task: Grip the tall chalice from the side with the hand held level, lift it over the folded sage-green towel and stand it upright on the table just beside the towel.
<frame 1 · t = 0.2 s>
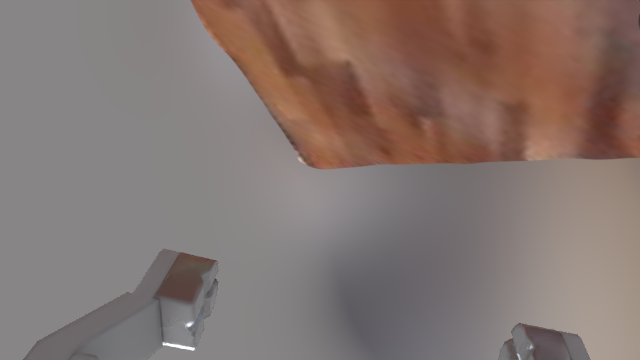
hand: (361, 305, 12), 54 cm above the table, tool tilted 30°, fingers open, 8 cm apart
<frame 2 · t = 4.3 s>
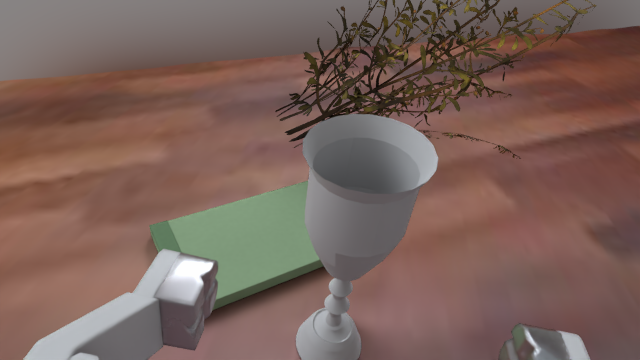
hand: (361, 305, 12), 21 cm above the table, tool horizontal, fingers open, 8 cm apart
chalice: (328, 343, 34), on the table
dried plant: (419, 131, 60), on the table
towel: (264, 241, 41), on the table
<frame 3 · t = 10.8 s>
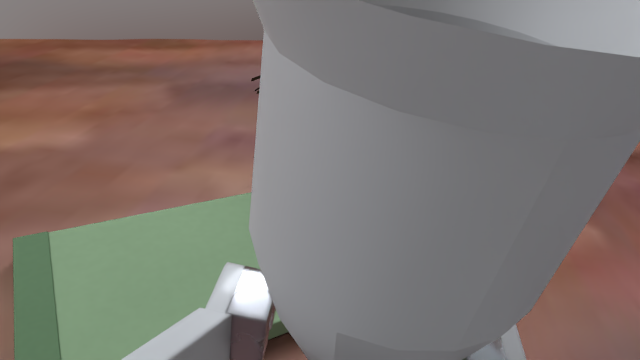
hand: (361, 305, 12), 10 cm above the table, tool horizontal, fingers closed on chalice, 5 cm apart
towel: (213, 274, 24), on the table
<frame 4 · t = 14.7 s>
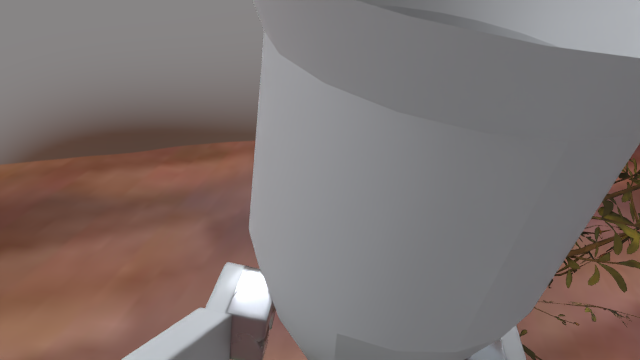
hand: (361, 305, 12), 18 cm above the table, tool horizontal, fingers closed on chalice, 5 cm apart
dried plant: (512, 271, 41), on the table
when the fingers open (10 cm above the table, at t = 19.2 s): chalice stays where it is, on the table.
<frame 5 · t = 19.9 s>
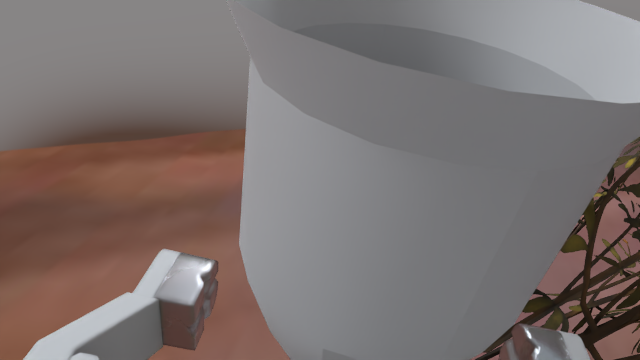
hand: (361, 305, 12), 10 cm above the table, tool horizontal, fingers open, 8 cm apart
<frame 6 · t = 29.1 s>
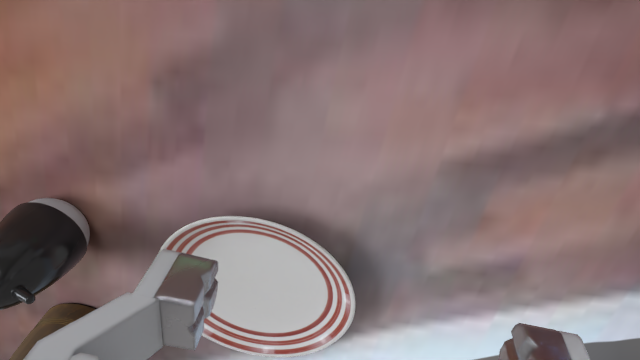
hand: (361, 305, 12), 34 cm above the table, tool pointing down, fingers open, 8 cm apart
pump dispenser: (67, 216, 60), on the table
wooden container: (90, 331, 75), on the table
dinner plate: (259, 279, 62), on the table
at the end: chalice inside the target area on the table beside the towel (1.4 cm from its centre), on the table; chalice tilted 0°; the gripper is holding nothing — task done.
